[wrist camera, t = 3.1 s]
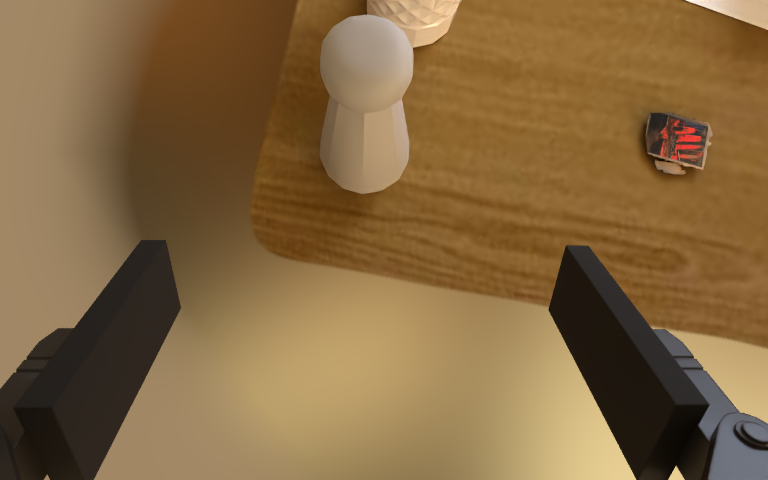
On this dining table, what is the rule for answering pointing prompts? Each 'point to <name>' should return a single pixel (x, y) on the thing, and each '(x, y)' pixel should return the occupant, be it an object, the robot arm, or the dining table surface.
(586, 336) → the robot arm
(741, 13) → the napkin holder
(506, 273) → the dining table surface
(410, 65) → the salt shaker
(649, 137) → the matchbox
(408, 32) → the white cup
